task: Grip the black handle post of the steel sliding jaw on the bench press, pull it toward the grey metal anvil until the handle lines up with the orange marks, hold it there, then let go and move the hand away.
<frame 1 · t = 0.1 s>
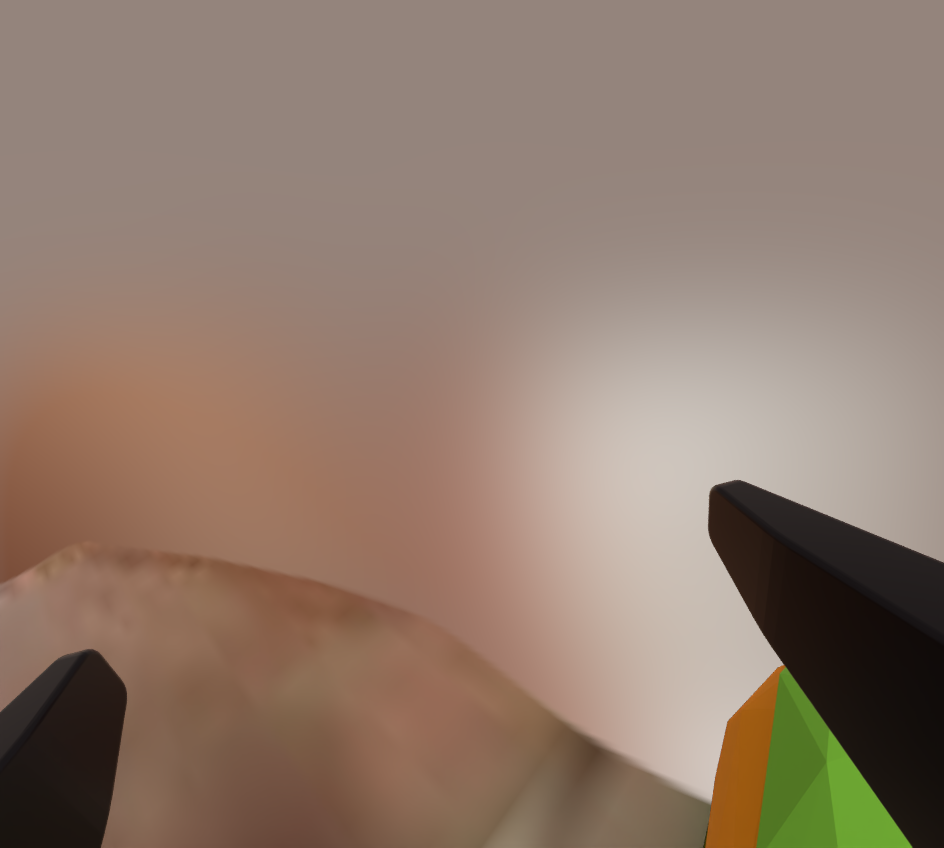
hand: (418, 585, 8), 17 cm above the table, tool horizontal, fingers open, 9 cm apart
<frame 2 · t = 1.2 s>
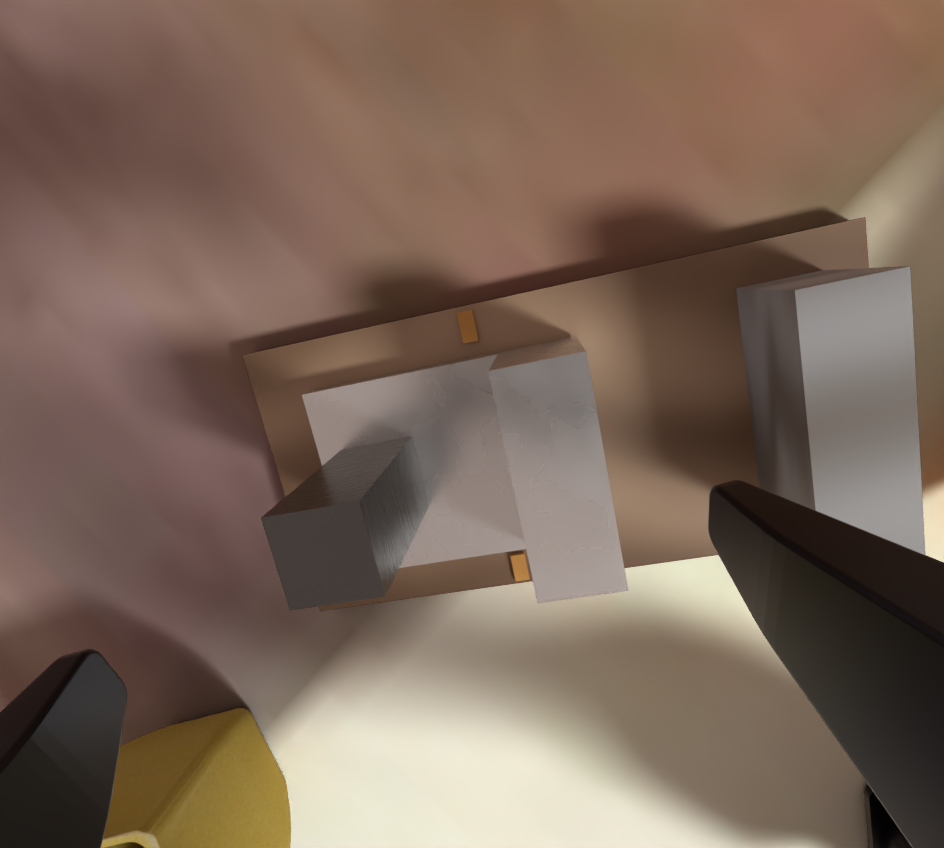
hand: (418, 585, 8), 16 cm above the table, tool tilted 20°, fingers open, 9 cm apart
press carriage: (444, 492, 20), point 5 cm above the table, slide at 0.0 cm
press base: (555, 434, 24), on the table
flower pot: (229, 751, 31), on the table
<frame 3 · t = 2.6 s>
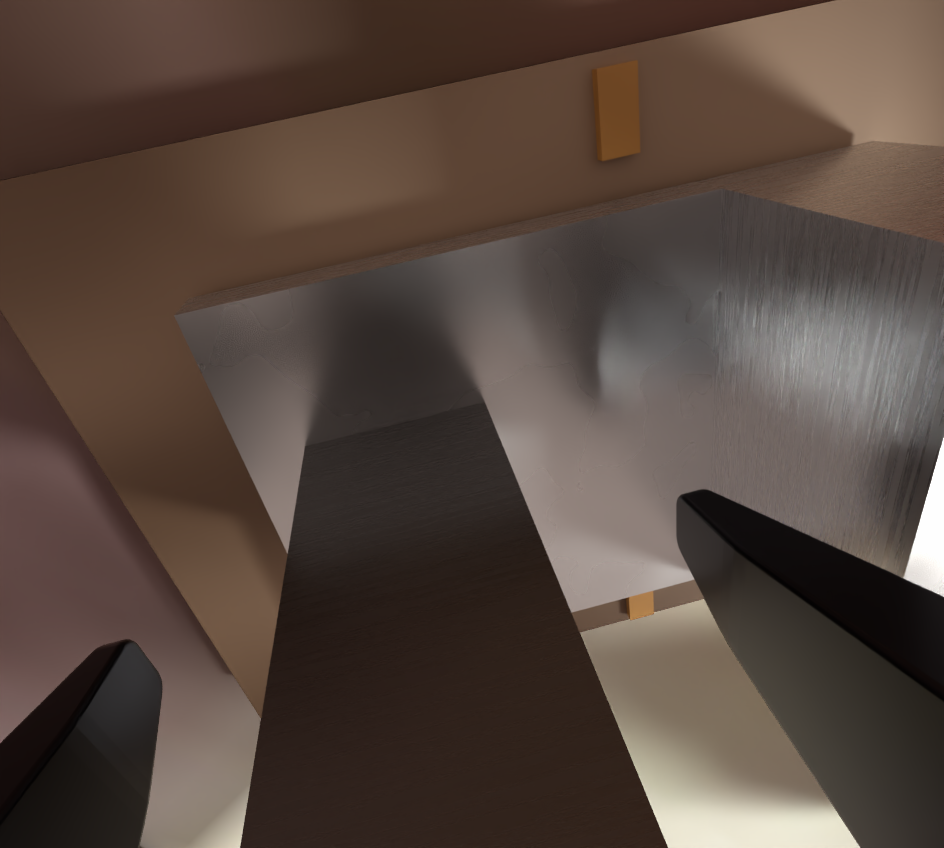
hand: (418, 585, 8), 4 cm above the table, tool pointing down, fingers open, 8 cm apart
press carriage: (657, 578, 8), point 5 cm above the table, slide at 0.2 cm
press base: (722, 360, 12), on the table
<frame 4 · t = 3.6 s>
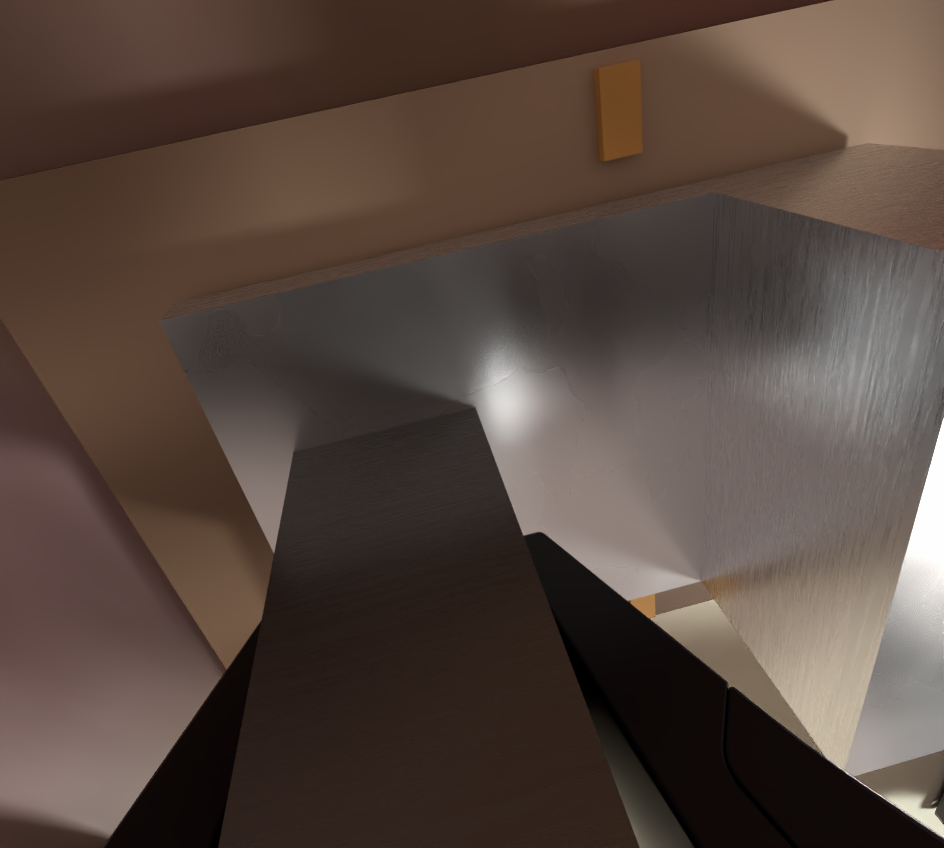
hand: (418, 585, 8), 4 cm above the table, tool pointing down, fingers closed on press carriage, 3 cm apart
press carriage: (647, 586, 8), point 5 cm above the table, slide at 0.0 cm, touching gripper
press base: (724, 361, 12), on the table
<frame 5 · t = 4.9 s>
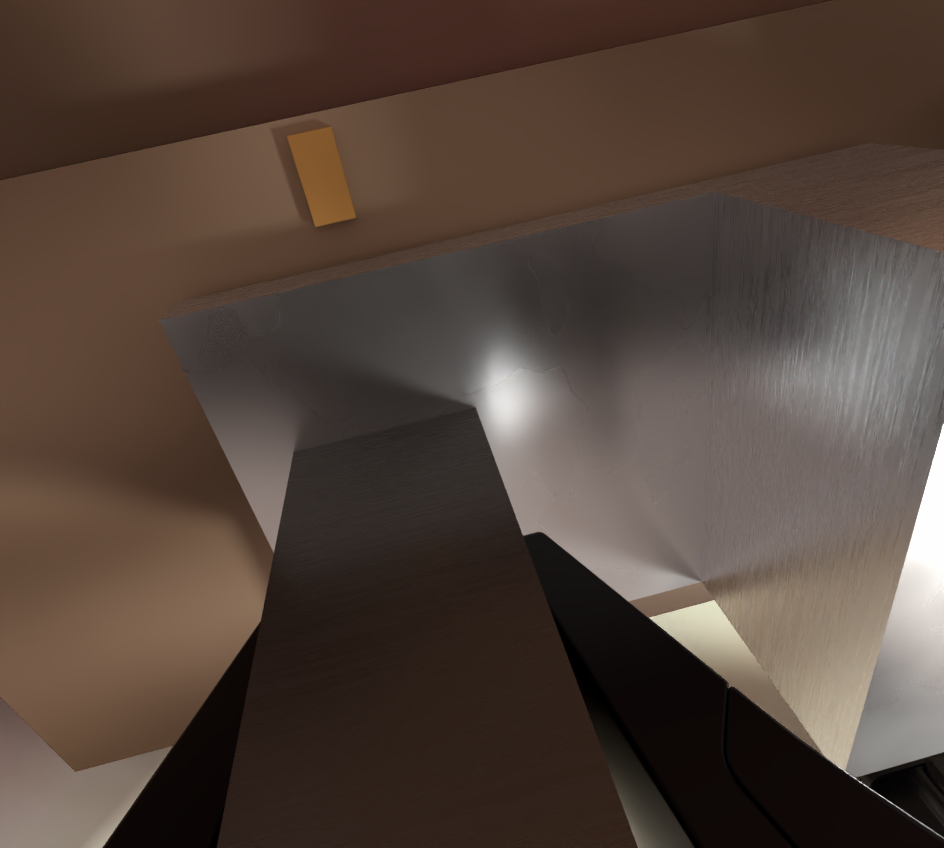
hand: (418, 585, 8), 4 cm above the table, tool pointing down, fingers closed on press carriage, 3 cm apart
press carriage: (647, 587, 7), point 5 cm above the table, slide at 4.4 cm, touching gripper
press base: (524, 411, 12), on the table
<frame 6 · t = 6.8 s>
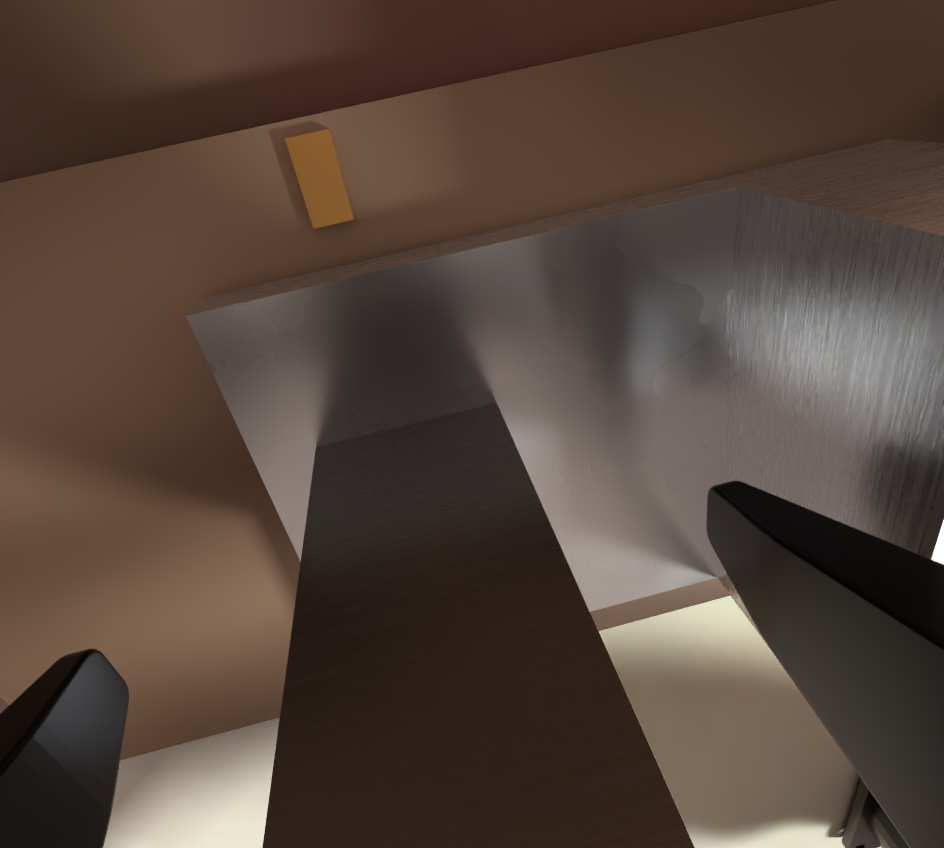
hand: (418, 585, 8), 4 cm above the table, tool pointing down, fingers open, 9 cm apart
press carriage: (673, 580, 8), point 5 cm above the table, slide at 4.8 cm, touching gripper
press base: (522, 412, 12), on the table
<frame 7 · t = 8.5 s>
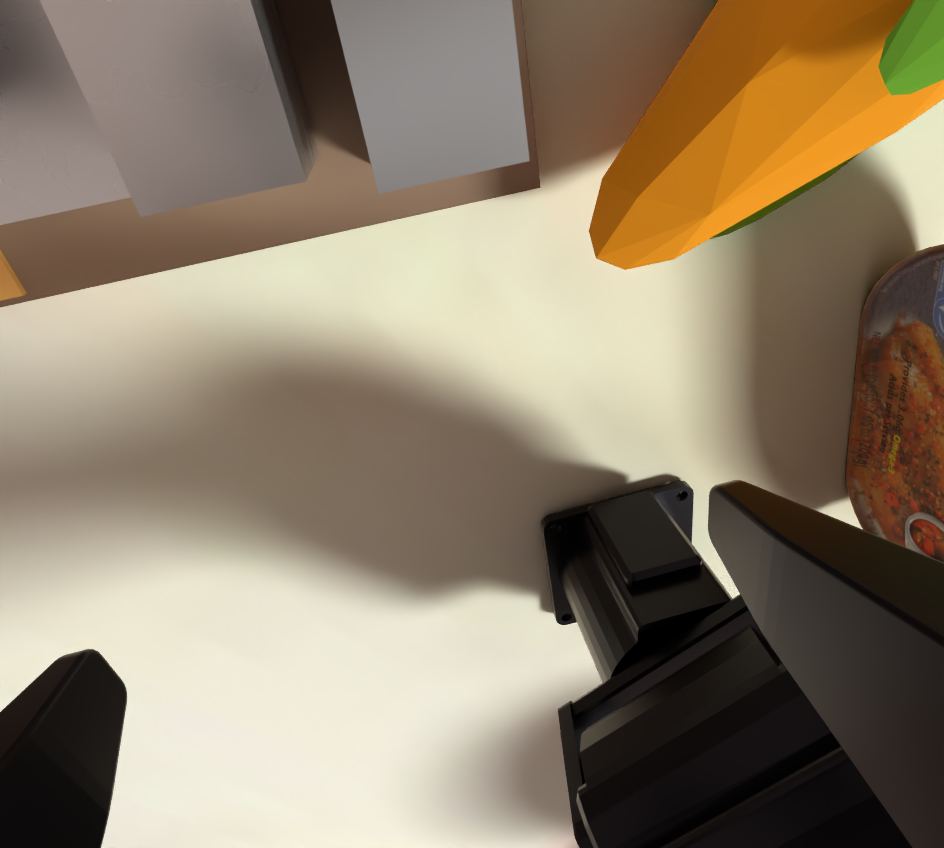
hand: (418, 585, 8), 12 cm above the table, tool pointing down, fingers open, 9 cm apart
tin: (881, 387, 24), on the table
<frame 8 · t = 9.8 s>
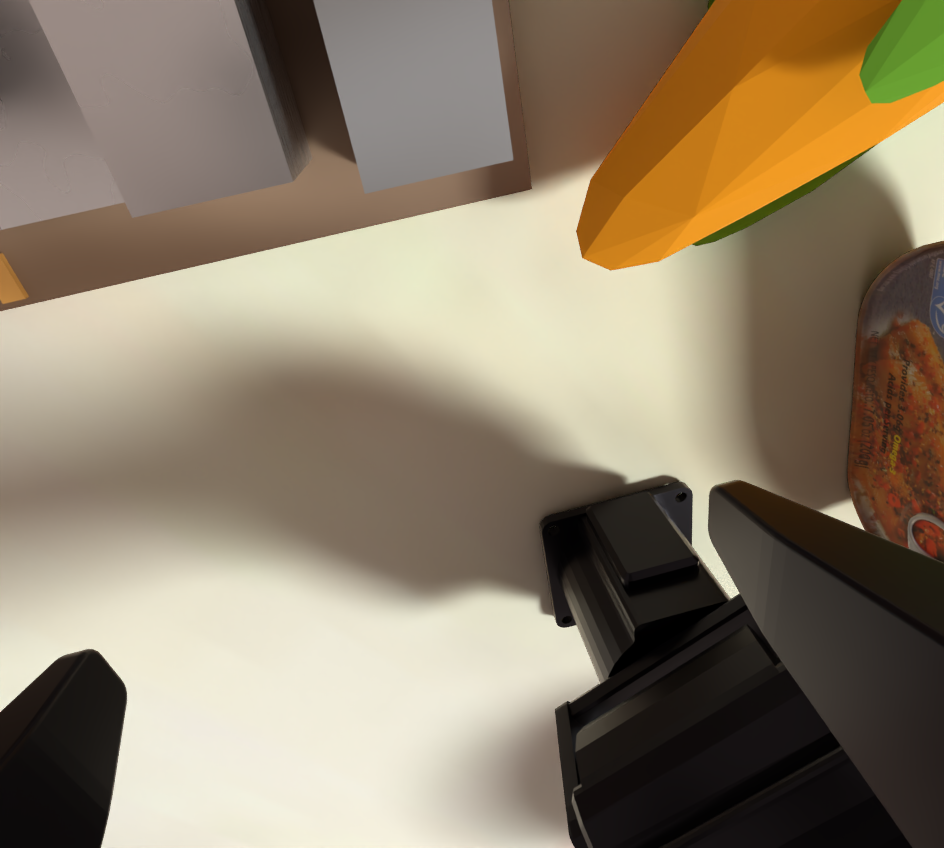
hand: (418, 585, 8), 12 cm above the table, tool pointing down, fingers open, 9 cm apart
corn: (823, 2, 17), on the table
press base: (2, 30, 14), on the table
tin: (881, 387, 24), on the table
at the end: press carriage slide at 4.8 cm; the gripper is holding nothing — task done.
